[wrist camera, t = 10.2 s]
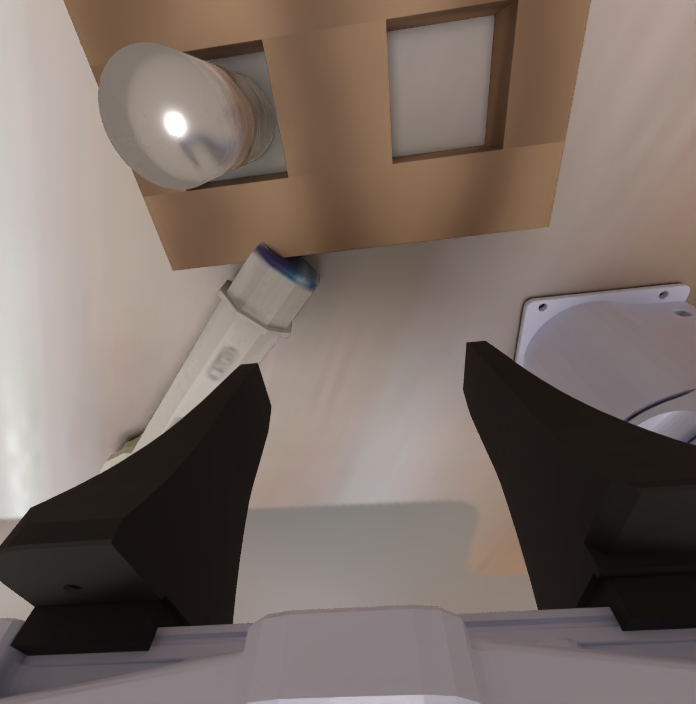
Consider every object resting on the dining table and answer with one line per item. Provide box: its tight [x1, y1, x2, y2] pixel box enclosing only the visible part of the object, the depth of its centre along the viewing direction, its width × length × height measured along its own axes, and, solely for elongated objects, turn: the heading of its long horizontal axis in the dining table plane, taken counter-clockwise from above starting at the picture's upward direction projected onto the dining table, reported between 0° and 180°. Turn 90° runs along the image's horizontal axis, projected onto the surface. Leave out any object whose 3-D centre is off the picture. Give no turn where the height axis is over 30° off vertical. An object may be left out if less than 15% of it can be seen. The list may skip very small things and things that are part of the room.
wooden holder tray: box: [64, 0, 591, 271], centre depth 16 cm, size 19×12×2 cm, turn 97°
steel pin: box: [98, 42, 274, 190], centre depth 14 cm, size 4×4×8 cm
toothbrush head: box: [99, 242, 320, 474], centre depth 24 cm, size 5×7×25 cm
